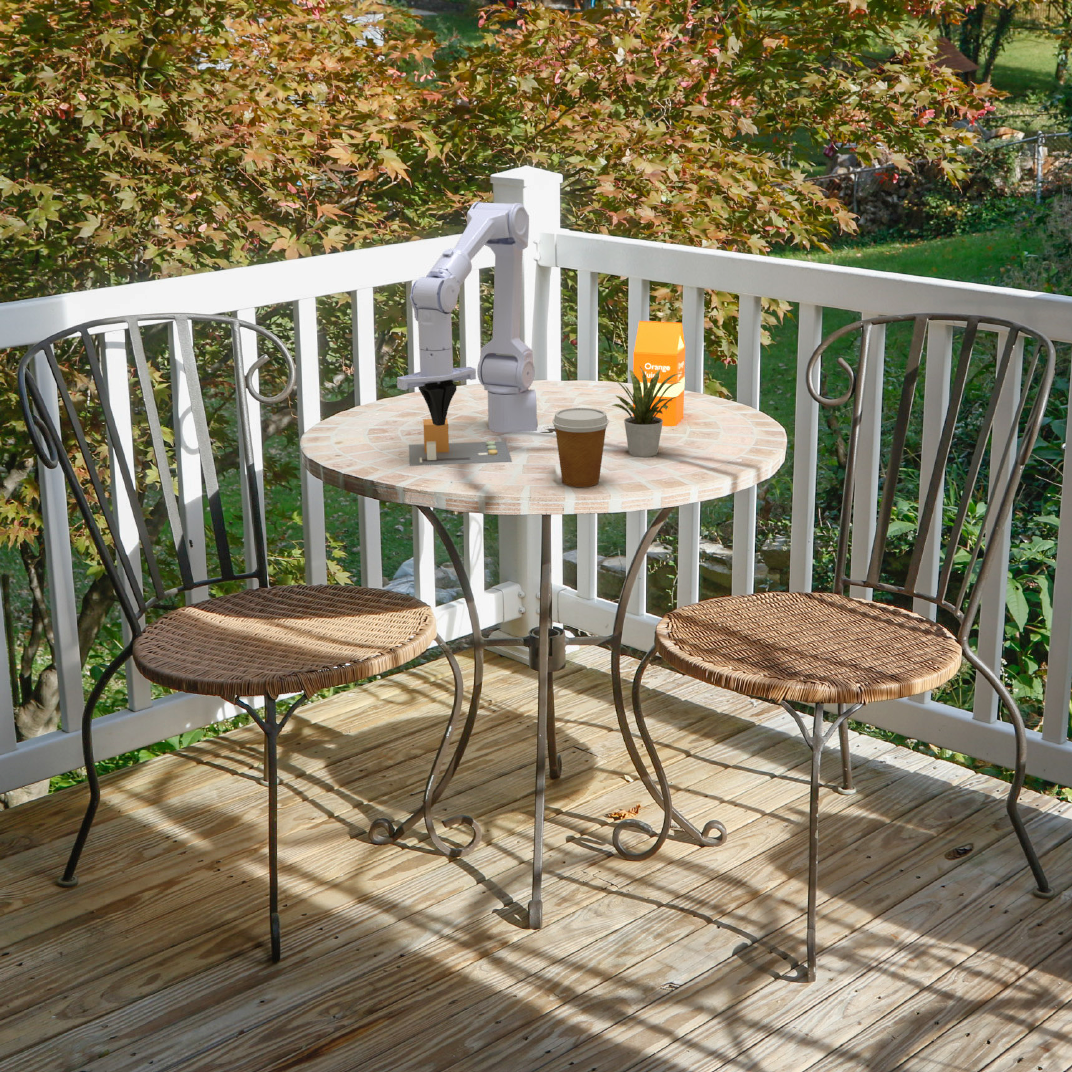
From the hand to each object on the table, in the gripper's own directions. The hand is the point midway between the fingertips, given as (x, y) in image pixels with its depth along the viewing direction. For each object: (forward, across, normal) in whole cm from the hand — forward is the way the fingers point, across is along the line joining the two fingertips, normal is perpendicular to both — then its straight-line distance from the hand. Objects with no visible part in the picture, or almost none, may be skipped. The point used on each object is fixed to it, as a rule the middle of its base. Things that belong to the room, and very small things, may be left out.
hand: (438, 424), depth 230 cm
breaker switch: (+6, +1, -1) cm, 6 cm away
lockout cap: (+6, -3, -6) cm, 10 cm away
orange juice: (+8, -52, -5) cm, 53 cm away
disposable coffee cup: (+8, -16, +22) cm, 28 cm away
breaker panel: (+8, -5, -2) cm, 10 cm away
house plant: (+8, -36, +14) cm, 40 cm away
